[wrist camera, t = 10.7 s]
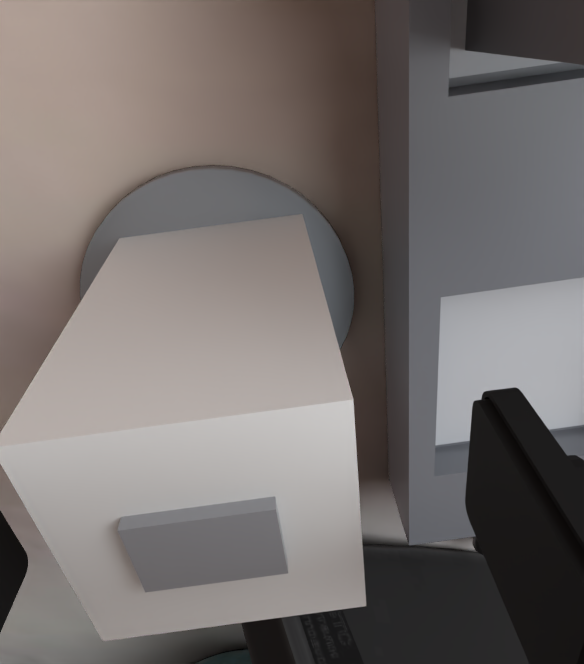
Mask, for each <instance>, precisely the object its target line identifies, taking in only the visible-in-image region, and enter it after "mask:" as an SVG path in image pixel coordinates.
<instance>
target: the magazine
mask: <svg viewBox="0 0 584 664" xmlns="http://www.w3.org/2000/svg"><path fill="white" fill-rule="evenodd" d="M363 560H364V576H365V592H366V606H363V607H356V608H348V609H341V610H333V611H326V612H318V613H311V614H304V615H296V616H289V617H281V618H274V619H266V620H259V621H251V622H244V623H242V627H243V631H244V635H245V638H246V642H247V646H248V650H249V654H250V658H251V662H252V664H529V662H528V659H527V657H526V655H525V652H524V650H523V648H522V645H521V643H520V640H519V638H518V636H517V633H516V631H515V628H514V626H513V624H512V621H511V619H510V617H509V614H508V612H507V609H506V607H505V605H504V602H503V600H502V597H501V595H500V593H499V590H498V588H497V586H496V583H495V581H494V578H493V576H492V574H491V571H490V569H489V566H488V564H487V562H486V559H485V557H484V555H481V554H480V553H478V552H471V551H462V550H450V549H437V548H425V547H406V546H379V545H363Z"/></svg>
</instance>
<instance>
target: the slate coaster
mask: <svg viewBox="0 0 584 664" xmlns="http://www.w3.org/2000/svg"><path fill="white" fill-rule="evenodd" d="M298 214H303V218H304V222H305V225H306V229H307V233H308V236H309V240H310V244H311V247H312V251H313V254H314V258H315V262H316V265H317V269H318V273H319V276H320V280H321V284H322V287H323V291H324V294H325V298H326V302H327V305H328V309H329V313H330V316H331V320H332V324H333V327H334V331H335V335H336V338H337V342H338V345H339V349H341V347H342V344H343V342H344V340H345V338H346V336H347V333H348V330H349V327H350V324H351V320H352V314H353V308H354V285H353V278H352V272H351V269H350V265H349V262H348V259H347V256H346V254H345V251H344V249H343V247H342V245H341V242H340V240H339V238H338V236H337V234H336V232H335V231H334V229H333V228H332V226H331V225H330V223H329V222H328V220H327V219H326V218H325V217H324V216H323V214H322V213H321V212H320V211H319V210H318V209H317V207H316V206H314V205H313V204H312V203H311V202H310V201H309V200H308V199H306V198H305V197H304V196H303V195H302V194H300V193H299V192H297V191H296V190H294V189H293V188H291V187H290V186H288V185H286V184H284V183H282V182H280V181H278V180H276V179H274V178H272V177H270V176H267V175H264V174H261V173H258V172H255V171H252V170H248V169H242V168H237V167H232V166H216V165H210V166H196V167H189V168H184V169H180V170H175V171H172V172H169V173H166V174H163V175H161V176H158V177H155V178H153V179H151V180H150V181H148V182H146V183H144V184H142V185H140V186H138V187H137V188H136V189H134V190H133V191H132V192H130V193H129V194H128V195H126V196H125V197H124V198H123V199H122V200H121V201H120V202H119V203H118V204H117V205H116V206H115V207H114V208H113V209H112V210H111V211H110V212H109V214H108V215H107V216H106V218H105V219H104V221H103V222H102V223H101V225H100V226H99V227H98V229H97V230H96V232H95V234H94V236H93V238H92V240H91V242H90V243H89V245H88V248H87V251H86V254H85V257H84V260H83V264H82V270H81V277H80V298H81V300H82V299H83V297H84V295H85V294H86V292H87V290H88V289H89V287H90V285H91V284H92V282H93V281H94V279H95V277H96V276H97V274H98V272H99V271H100V269H101V268H102V266H103V264H104V263H105V261H106V259H107V258H108V256H109V254H110V253H111V251H112V250H113V248H114V246H115V245H116V243H117V241H118V240H119V238H125V237H132V236H140V235H147V234H155V233H162V232H170V231H177V230H185V229H192V228H200V227H207V226H215V225H223V224H230V223H238V222H245V221H253V220H260V219H268V218H275V217H283V216H290V215H298Z"/></svg>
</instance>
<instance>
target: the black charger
mask: <svg viewBox="0 0 584 664" xmlns="http://www.w3.org/2000/svg"><path fill="white" fill-rule="evenodd" d="M465 50H466V51H474V52H482V53H490V54H499V55H507V56H515V57H523V58H531V59H540V60H548V61H556V62H564V63H572V64H580V65H584V0H467V20H466V40H465Z"/></svg>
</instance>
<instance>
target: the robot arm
mask: <svg viewBox="0 0 584 664" xmlns="http://www.w3.org/2000/svg"><path fill="white" fill-rule="evenodd" d="M465 506H466V511H467V515H468V518H469V521H470V524H471V526H472V528H473V531H474V533H475V535H476V538H477V540H478V543H479V545H480V547H481V550H482V552H483V555H484V557H485V559H486V562H487V564H488V566H489V569H490V571H491V574H492V576H493V578H494V581H495V583H496V586H497V588H498V590H499V593H500V595H501V597H502V600H503V602H504V605H505V607H506V609H507V612H508V614H509V617H510V619H511V621H512V624H513V626H514V628H515V631H516V633H517V636H518V638H519V640H520V643H521V645H522V648H523V650H524V652H525V655H526V657H527V659H528V662H529V664H584V460H583V459H582V458H580V457H578V456H576V455H568V456H567V455H566V453H565V452H564V450H563V449H562V448H561V446H560V445H559V443H558V442H557V441H556V439H555V438H554V436H553V435H552V434H551V432H550V431H549V429H548V428H547V427H546V425H545V424H544V422H543V421H542V420H541V418H540V417H539V415H538V414H537V413H536V411H535V410H534V408H533V407H532V406H531V404H530V403H529V401H528V400H527V399H526V397H525V396H524V394H523V393H522V392H521V391H520V390H519V389H518V388H516V387H514V388H506V389H498V390H490V391H485V392H483V394H482V398H481V400H475V401H474V402H473V406H472V417H471V430H470V443H469V455H468V468H467V481H466V494H465ZM27 568H28V557H27V554H26V552H25V550H24V548H23V547H22V545H21V544H20V542H19V540H18V539H17V537H16V535H15V534H14V532H13V531H12V529H11V527H10V526H9V524H8V523H7V521H6V519H5V518H4V516H3V514H2V513H1V511H0V632H1V630H2V627H3V625H4V623H5V621H6V618H7V616H8V614H9V611H10V609H11V607H12V605H13V602H14V600H15V598H16V595H17V593H18V591H19V588H20V586H21V584H22V582H23V579H24V577H25V575H26V572H27Z"/></svg>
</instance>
